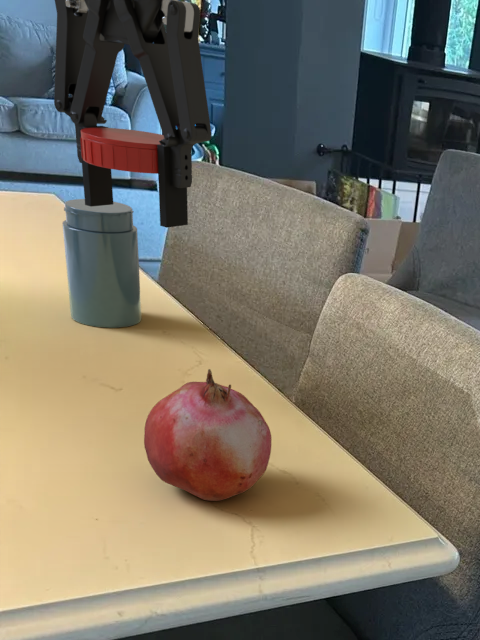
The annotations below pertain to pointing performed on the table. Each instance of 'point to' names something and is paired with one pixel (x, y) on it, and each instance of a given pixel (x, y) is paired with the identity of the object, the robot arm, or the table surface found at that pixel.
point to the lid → (121, 149)
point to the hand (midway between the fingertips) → (136, 214)
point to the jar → (102, 264)
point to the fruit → (207, 440)
